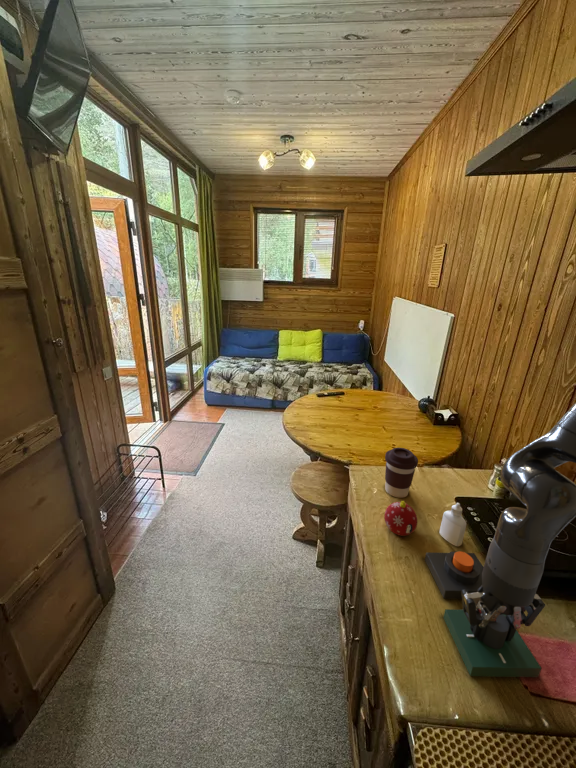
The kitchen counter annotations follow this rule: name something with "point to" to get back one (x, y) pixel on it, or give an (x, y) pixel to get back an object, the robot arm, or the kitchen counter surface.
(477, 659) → the green dial base plate
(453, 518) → the eye dropper bottle
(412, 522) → the christmas ornament
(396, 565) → the kitchen counter surface
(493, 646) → the knob
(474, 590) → the block
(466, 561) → the orange button cap
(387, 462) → the coffee cup
